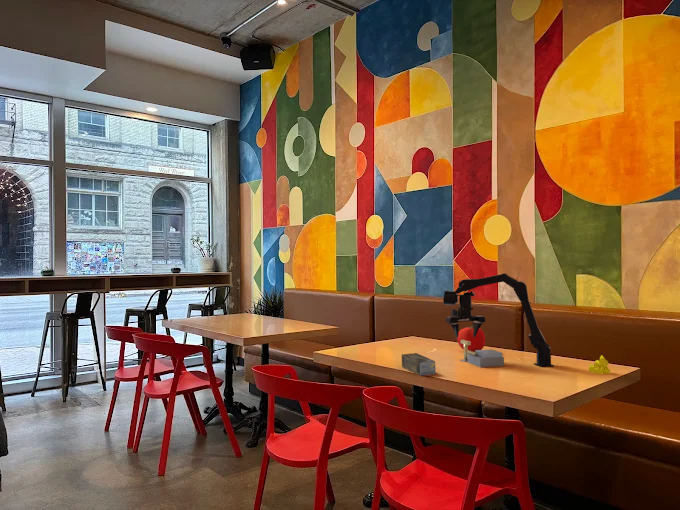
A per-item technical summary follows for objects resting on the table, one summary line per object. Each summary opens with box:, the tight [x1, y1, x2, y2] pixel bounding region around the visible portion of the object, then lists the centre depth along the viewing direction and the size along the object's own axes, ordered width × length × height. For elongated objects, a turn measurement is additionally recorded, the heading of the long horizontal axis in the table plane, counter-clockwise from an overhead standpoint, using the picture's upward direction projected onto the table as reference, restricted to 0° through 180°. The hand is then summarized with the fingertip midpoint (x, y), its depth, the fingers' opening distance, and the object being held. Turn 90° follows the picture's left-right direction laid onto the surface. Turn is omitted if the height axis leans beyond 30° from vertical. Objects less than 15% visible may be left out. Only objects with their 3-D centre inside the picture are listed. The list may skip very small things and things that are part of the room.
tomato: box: [456, 325, 486, 352], centre depth 275 cm, size 16×14×14 cm
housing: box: [459, 353, 505, 368], centre depth 245 cm, size 18×13×4 cm
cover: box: [475, 349, 503, 358], centre depth 241 cm, size 9×9×2 cm
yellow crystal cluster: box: [588, 355, 611, 375], centre depth 223 cm, size 6×8×8 cm
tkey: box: [461, 340, 477, 360], centre depth 248 cm, size 13×2×9 cm, turn 13°
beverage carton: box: [401, 352, 437, 376], centre depth 229 cm, size 8×19×7 cm, turn 17°
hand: (465, 337), depth 251 cm, fingers open, 9 cm apart
